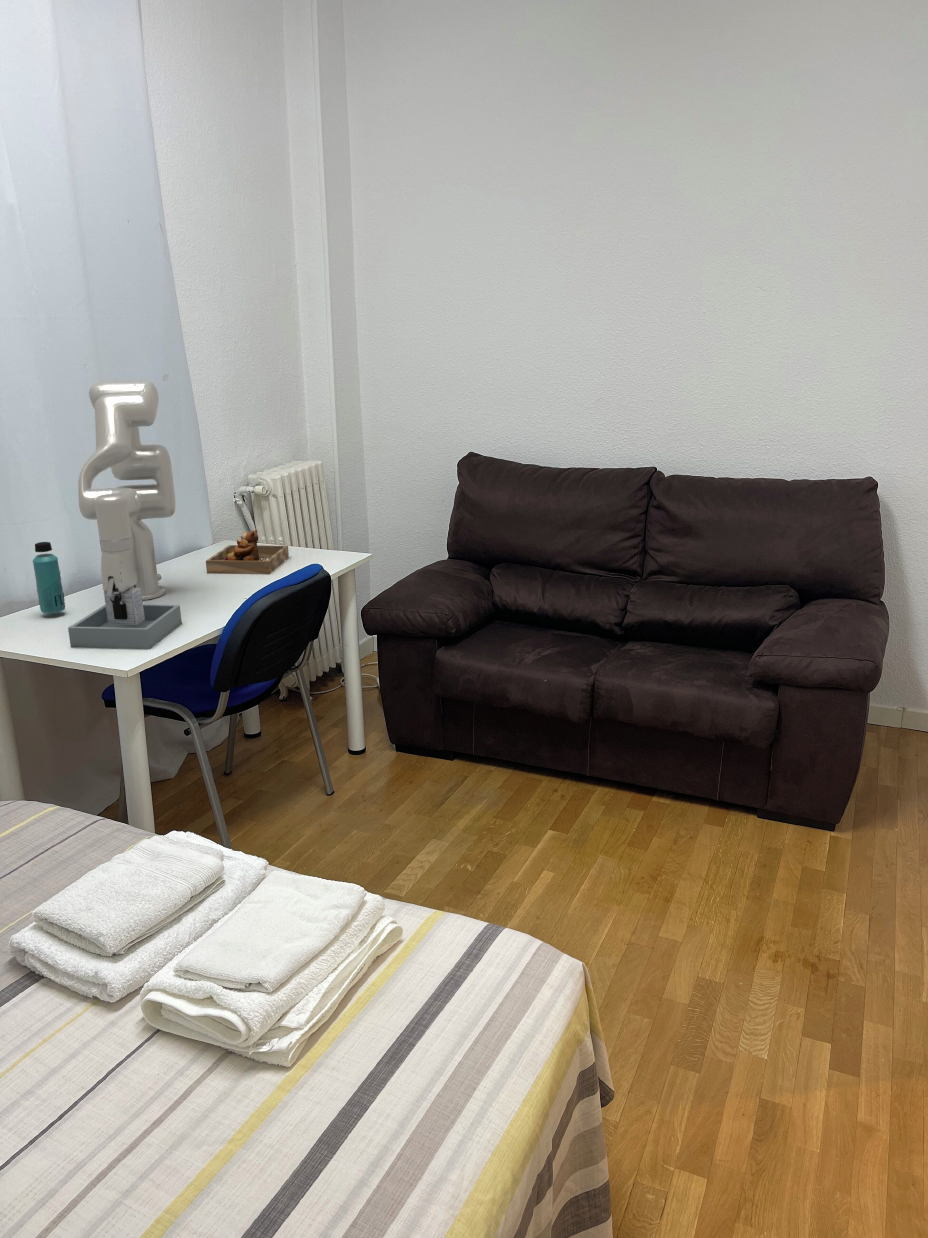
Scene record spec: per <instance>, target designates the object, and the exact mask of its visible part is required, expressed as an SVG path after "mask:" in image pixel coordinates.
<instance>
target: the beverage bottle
mask: <svg viewBox="0 0 928 1238" xmlns="http://www.w3.org/2000/svg"><path fill="white" fill-rule="evenodd" d="M52 550H53V548H52V544H51V542H50V541H39V542H37V543H35V544H34V551H35V552H36V553H41V554H37V555H36V556H35V557H34V558H33V559H32V564H33V565H32V566H33V571H34V576H35V582H36V583H35V584H36V592H37V597H38V605H39V610H40V611H41V613H43V614H55V613H60V612H63V611H64V610H65V609H66V599H65V593H64V590H63V583H62V576H61V570H60V565H59V558H58V556H56V555H55V554H53V553H47V552H50V551H52Z"/></svg>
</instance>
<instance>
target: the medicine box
mask: <svg viewBox="0 0 928 1238" xmlns="http://www.w3.org/2000/svg"><path fill="white" fill-rule="evenodd" d="M115 592H119V591H118V589H115ZM115 595H116V596H118V597H119V598H120V594H115ZM103 596H104V603H105V604H104V605H106V612H107V619H108V624H125V625H138V624H139V623H141V622H142V621H144V620H145V616H144V609H143V604H144V603H143V600H142V594H141V588H134V587H131V588H129V589H128V590H126V591H124V604H126V610H127V619H126V620H120V619H114V612H113V605H112V604H111V601H110V599H109V598H107V593H105V592H104V591H103Z"/></svg>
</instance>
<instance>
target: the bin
mask: <svg viewBox="0 0 928 1238" xmlns="http://www.w3.org/2000/svg"><path fill="white" fill-rule="evenodd" d="M143 609H144V616H145V620H144V621H142V622H141V623H139V624H138V625H125V624H108V619H107V612H106V605H105V604H104V605H102V606H101V607H99V608H98V609H96V610H94V611H93V612H91V613H89V614H88V615H86V616H84V617H83V618H82V619H79V620H78V621H77V622H75V623H73V624H71V625H70V626H68V627H67V631H68V637H69V644H70V648H79V649H80V648H81V649H84V648H85V649H87V648H89V649H123V650H124V649H127V650H129V649H130V650H131V649H133V650H151V649H152V648H153V647H155V645H156V644H158V643H159V642H161V640H163V639H164V638H165V637H167V636H168V635H170V634H171V633H172V632H173V631H174V630H176V629H177V628H178V627H179V626H181V625H182V624H183V623H182V622H183V621H182V613H181V605H180V604H144V603H143Z"/></svg>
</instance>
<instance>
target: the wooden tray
mask: <svg viewBox="0 0 928 1238" xmlns="http://www.w3.org/2000/svg"><path fill="white" fill-rule="evenodd" d="M236 545H237V544H231V545H230V544H228V545H227V546H226V547H224V548H222V549H221V550H219V551H218V552H216V553H215V554H214V555H212V556H211V557H209V558H208V559H207V560H205V567H206V574H215V575H217V574H219V575H221V574H223V575H224V574H225V575H226V574H227V575H232V574H233V575H270V574H272V573H273V572H274V571H275V570H277V568H279V567H280V566H281V565H282V564H283V563H285V562H286V561H287V560H288V559H289V558H290V557H289V556H290V555H289V545H262V544H261V545H258V544H257V548H258V553H259V557H266V558H268V559H267V561H236V560H224V558H225V557H226V556H227V555H228V554H229V553H232V552H233V551H234V548H235V547H236ZM285 560H286V561H285ZM278 566H279V567H278ZM272 571H273V572H272ZM271 572H272V573H271Z"/></svg>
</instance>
